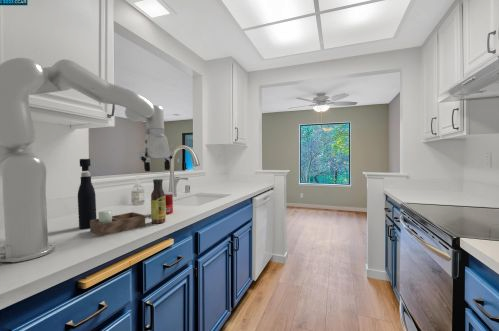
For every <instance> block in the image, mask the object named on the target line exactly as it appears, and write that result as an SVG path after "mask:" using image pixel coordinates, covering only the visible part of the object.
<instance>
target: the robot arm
mask: <svg viewBox="0 0 499 331" xmlns="http://www.w3.org/2000/svg"><path fill="white" fill-rule="evenodd" d="M68 90H75V91H76V92H78V93H80V94H81V95H84V96H86V97H87V98H90V99H92V100H93V101H95V102H97V103H102V104H109V105H116V106H120V107H122V108H125V110H124V115H125V117H126V118H127V119H129V121H132V122H145V124H146V129H144V130H143V133H144V134H146V136H145V138H144V148H143V149H141V150H139V151H138V152H137V155H138V157H139V159H140V161H142V162H143V167H144V170H145V172H150V171H151V163H150V162H149V161H150V160H151V159H158V158H161V159H163V160H164V162H163V163H164V171H170V168H171V166H170V165H171V164H170V163H171V160H172V159H173V158H174V155H175V152H174V151H172V150H171V149H170V146H169V141H168V137H167V136H166V135H165V118H164V109H163V107H162V106H161V105H158V104H157V105H156V104H152V103H151V102H150V101H149V100H148V99H147V98H145V97H143V96H142V95H140V94H139V93H137V92H135V91H133V90H130V89H128V88H126V87H125V88H124V87H122V86H120V85H117V84H113V83H111V82H109V81H107V80H105V79H103V78H102V77H100V76H98V75H96V74H95V73H93V72H92V71H90V70H88V69H87V68H85V67H83V66H81V65H80V64H78V63H76V62H75V61H73V60H70V59H60V60H58V61H57V62H55V63H54V64H53V65H51V66H48V67H42V66H41V65H40V64H39V63H38V62H37V61H35V60H34V59H30V58H27V57H15V58H11V59H8V60H6V61H3V62H1V63H0V176H1V177H2V206H3V218H4V219H3V220H4V237H5V241H4V242H3V243H2V245H1V246H0V263H2V262H12V263H18V262H24V261H28V260H33V259H36V258H40V257H43V256H45V255H48V254H50V253H52V252H53V251H54V250H55V248H56V245H55V244H53V243H49V235H48V234H49V232H48V213H47V197H46V196H47V195H46V191H47V190H46V186H47V167H46V164H45V162H44V161H43V159H42V158H40V157H39V156H38V155H35V149H34V142H35V140H36V138H37V133H36V129H35V126H34V122H33V118H32V114H31V113H32V112H31V108H30V101H29V100H30V98H29V97H30V95H31V96H32V95H41V94H48V93H49V94H50V93H56V92H57V93H58V92H63V91H68Z"/></svg>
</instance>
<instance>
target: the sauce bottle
mask: <svg viewBox="0 0 499 331" xmlns="http://www.w3.org/2000/svg"><path fill="white" fill-rule="evenodd" d="M152 182H153V190H152V192H151V195H150V218H151V223H152V224H162V223H164V222H166V218H167V215H166V203H165V194H164V192H165V191H164V188H163V178H156V179H155V178H154V179H153V180H152Z"/></svg>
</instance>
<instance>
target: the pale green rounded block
mask: <svg viewBox="0 0 499 331" xmlns="http://www.w3.org/2000/svg"><path fill="white" fill-rule="evenodd" d="M112 216H113V211H112V210H103V211H99V212H98V219H99V223H101V224H104V223H109V222H112Z"/></svg>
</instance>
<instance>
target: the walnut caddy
mask: <svg viewBox="0 0 499 331" xmlns="http://www.w3.org/2000/svg"><path fill="white" fill-rule="evenodd" d="M144 226H146V215H145V214H141V213H137V212H135V211H132V212H125V213H121V214H115V215H112V222H109V223H104V224H101V223H99V218H96V219H94V220H90V228H89V231H90V232H91V233H93V234H96V235H97V236H99V237H104V236H108V235H112V234H116V233H117V234H118V233H120V232H124V231H125V232H126V231H128V230H131V229H136V228H141V227H144Z"/></svg>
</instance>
